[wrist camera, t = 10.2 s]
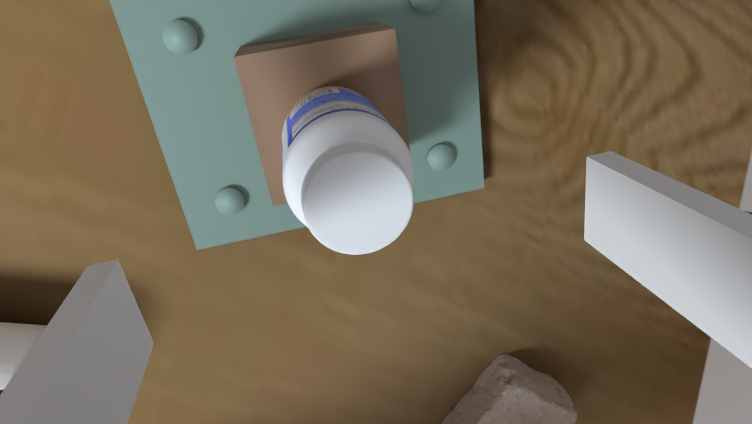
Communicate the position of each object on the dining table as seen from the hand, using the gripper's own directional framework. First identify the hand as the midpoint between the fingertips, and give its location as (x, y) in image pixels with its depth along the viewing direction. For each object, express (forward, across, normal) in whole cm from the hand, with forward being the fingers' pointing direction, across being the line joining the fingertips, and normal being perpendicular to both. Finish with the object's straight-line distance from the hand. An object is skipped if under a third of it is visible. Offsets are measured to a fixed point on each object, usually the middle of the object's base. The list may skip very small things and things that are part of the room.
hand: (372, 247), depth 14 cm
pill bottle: (+14, 0, 0) cm, 14 cm away
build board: (+20, 0, 0) cm, 20 cm away
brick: (+21, +9, -32) cm, 39 cm away
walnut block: (+18, 0, 0) cm, 19 cm away
